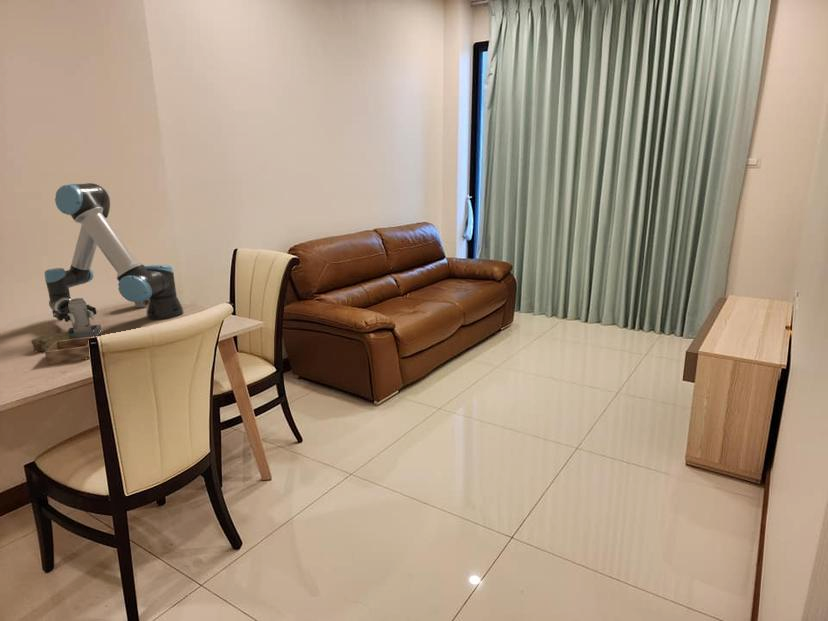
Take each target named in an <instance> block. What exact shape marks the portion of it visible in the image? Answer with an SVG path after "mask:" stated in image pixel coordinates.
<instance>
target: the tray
mask: <svg viewBox="0 0 828 621" xmlns="http://www.w3.org/2000/svg"><path fill="white" fill-rule="evenodd" d="M90 325H91V330H92V331H90V332H82V333H74V330H73V327H69V328H68V329H67V330H66V332H67V333H68V334H69V337H70V339H77V338H85V337H93V336H97V337H98V336H99V335H100V333H101V332H100V330H101V329H102V325H101V323H100V324H90ZM93 330H94V331H93ZM101 331H102V330H101ZM99 332H100V333H99ZM97 334H99V335H97Z"/></svg>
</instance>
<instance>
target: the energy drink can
mask: <svg viewBox="0 0 828 621" xmlns="http://www.w3.org/2000/svg"><path fill="white" fill-rule="evenodd" d="M87 305H88V304H87V302H86V301H85V300H84V297H82V298H81V297H79V298H77V297H76V298H71V300H69V304H68V306H69V311H70V314H72V315H73V316H74V318H75V323H72V322H71V324H72V328H73V330H74V333H82V332H90V331H92V330H91V325H92V324H91V320H90V317H89V315H88V310H87Z"/></svg>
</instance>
